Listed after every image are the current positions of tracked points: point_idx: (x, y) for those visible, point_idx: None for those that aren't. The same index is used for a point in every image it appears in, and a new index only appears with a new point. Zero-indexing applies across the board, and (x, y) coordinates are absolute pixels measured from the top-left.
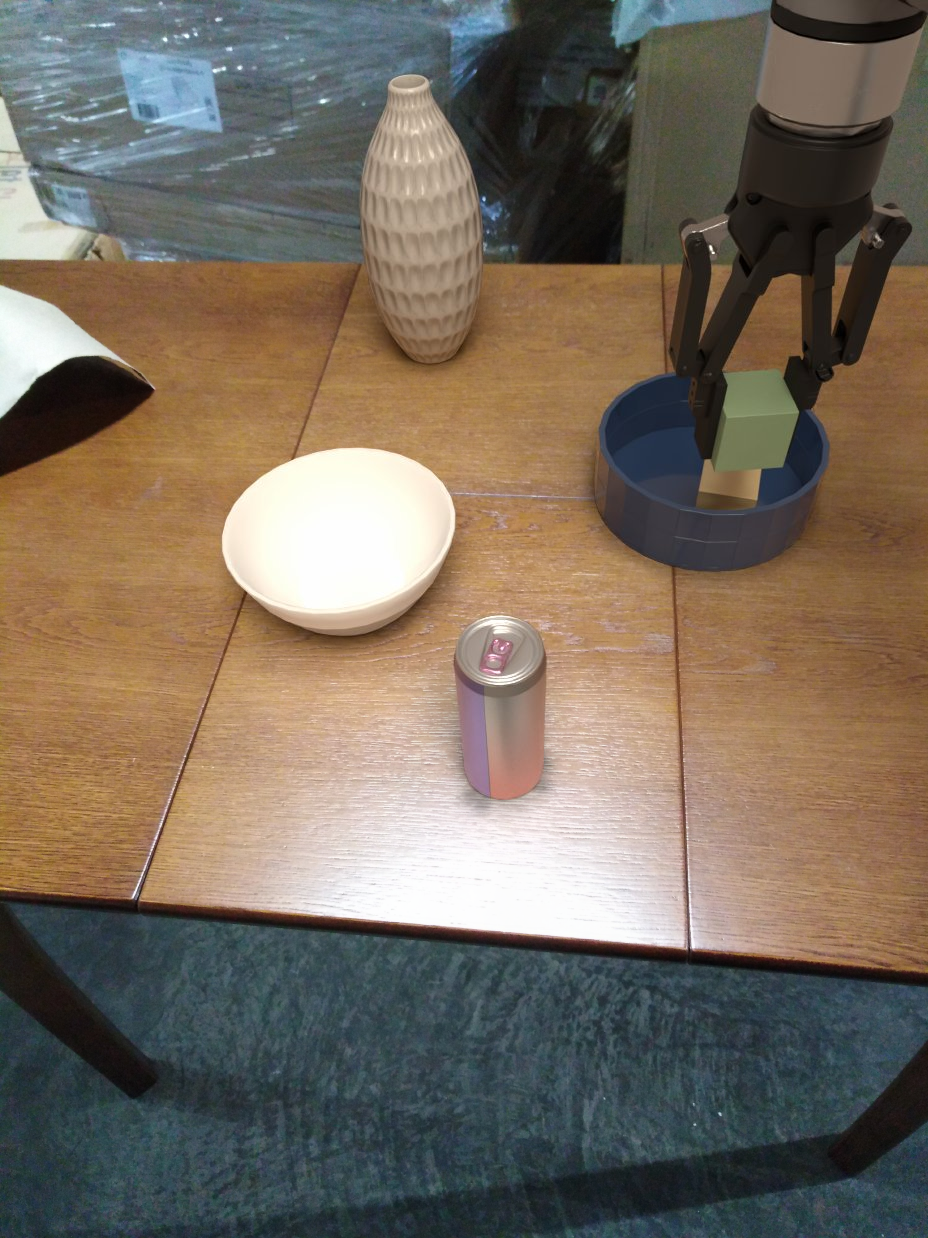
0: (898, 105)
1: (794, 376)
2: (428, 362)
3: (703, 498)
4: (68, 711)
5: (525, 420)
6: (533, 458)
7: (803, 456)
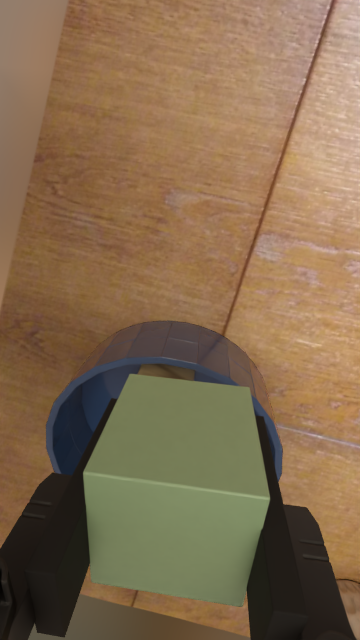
0: None
1: (67, 578)
2: (353, 582)
3: None
4: None
5: None
6: (303, 474)
7: (73, 423)
